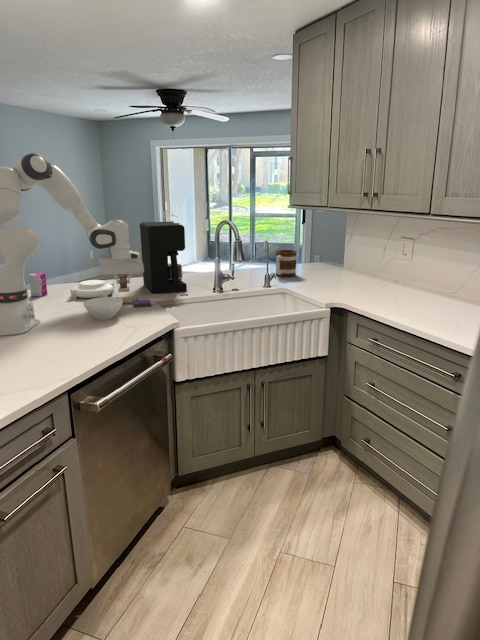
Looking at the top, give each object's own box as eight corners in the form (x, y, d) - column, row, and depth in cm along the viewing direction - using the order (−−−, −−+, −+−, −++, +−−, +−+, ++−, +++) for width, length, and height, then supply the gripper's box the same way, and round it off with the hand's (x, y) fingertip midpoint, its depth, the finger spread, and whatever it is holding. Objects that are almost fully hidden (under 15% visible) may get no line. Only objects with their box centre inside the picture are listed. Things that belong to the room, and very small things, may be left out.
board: (137, 303, 217) (137, 301, 217) (111, 305, 215) (111, 303, 215) (137, 298, 229) (137, 295, 228) (113, 299, 226) (112, 297, 226)
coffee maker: (190, 292, 239) (187, 224, 229) (153, 296, 233) (149, 226, 223) (177, 282, 264) (174, 220, 254) (143, 285, 258) (139, 221, 248)
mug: (280, 272, 293) (280, 249, 288) (300, 274, 286) (300, 250, 282) (266, 278, 276) (267, 253, 272) (287, 280, 270) (288, 254, 266)
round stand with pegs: (60, 296, 234) (58, 282, 232) (101, 288, 251) (100, 275, 249) (84, 304, 219) (83, 289, 217) (127, 295, 236) (126, 281, 234)
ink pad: (151, 306, 213) (150, 303, 213) (133, 307, 211) (133, 304, 211) (150, 302, 220) (150, 299, 220) (133, 303, 219) (133, 300, 218)
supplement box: (41, 297, 230) (38, 275, 227) (30, 297, 231) (27, 274, 228) (48, 294, 236) (45, 272, 232) (37, 294, 237) (35, 272, 234)
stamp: (129, 291, 219) (127, 272, 216) (118, 292, 218) (116, 273, 215) (129, 289, 224) (127, 270, 221) (118, 289, 222) (117, 271, 220)
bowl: (84, 314, 200) (82, 299, 198) (121, 311, 206) (120, 295, 204) (86, 324, 186) (84, 307, 184) (126, 320, 191) (124, 304, 189)
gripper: (97, 256, 210) (100, 285, 214) (143, 254, 215) (144, 283, 219) (98, 254, 216) (101, 283, 220) (142, 252, 221) (144, 281, 225)
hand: (123, 283), depth 220 cm, fingers closed on stamp, 3 cm apart
